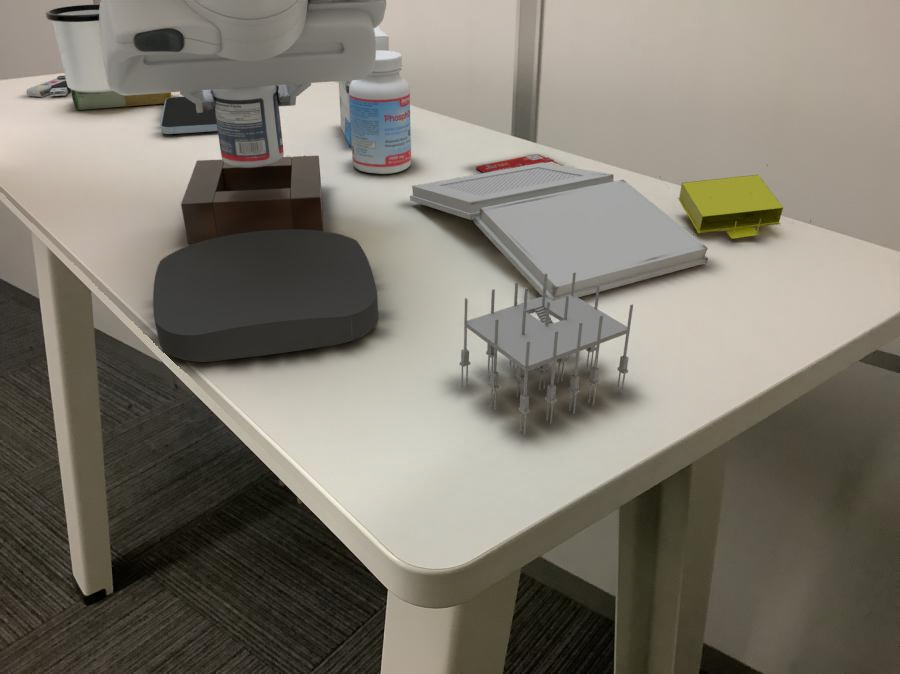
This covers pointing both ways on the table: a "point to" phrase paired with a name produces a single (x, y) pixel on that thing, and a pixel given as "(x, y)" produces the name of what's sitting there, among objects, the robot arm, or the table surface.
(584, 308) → the building frame
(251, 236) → the media streaming box
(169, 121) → the smartphone
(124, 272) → the table surface
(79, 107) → the medication box
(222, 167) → the holder
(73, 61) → the mug
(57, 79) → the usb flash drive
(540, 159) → the card
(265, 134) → the pill bottle
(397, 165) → the pill bottle
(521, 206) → the gadget
